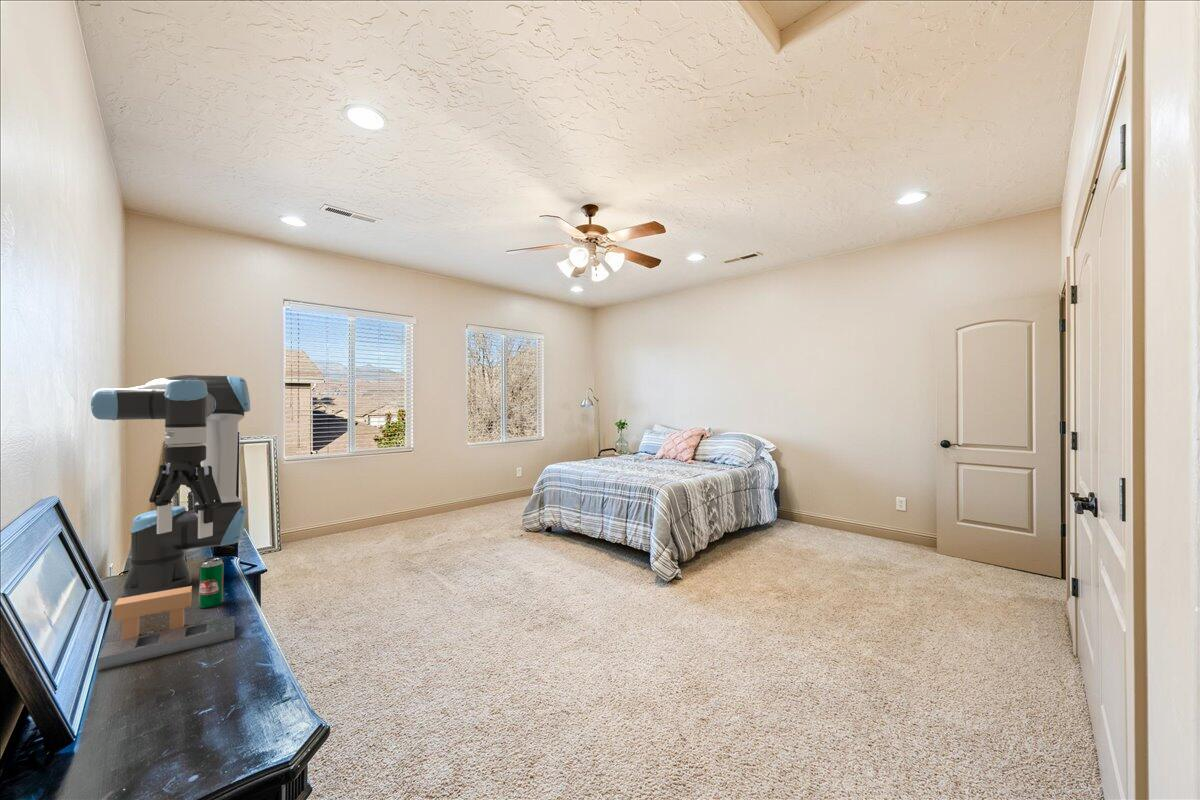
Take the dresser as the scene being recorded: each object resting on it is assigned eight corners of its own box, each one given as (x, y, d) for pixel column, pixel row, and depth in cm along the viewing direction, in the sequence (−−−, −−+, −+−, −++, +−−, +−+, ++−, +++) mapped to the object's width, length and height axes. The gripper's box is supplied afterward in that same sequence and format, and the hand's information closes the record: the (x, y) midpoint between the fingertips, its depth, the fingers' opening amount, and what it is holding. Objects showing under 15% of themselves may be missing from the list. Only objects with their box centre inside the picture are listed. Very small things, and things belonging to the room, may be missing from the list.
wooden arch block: (117, 637, 110) (118, 598, 110) (191, 622, 118) (191, 585, 118) (113, 646, 106) (114, 605, 106) (189, 629, 114) (190, 591, 114)
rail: (105, 654, 102) (106, 643, 102) (234, 626, 115) (234, 615, 116) (97, 670, 96) (97, 658, 96) (234, 638, 109) (234, 627, 109)
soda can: (195, 610, 125) (195, 564, 125) (204, 602, 130) (204, 558, 130) (218, 607, 127) (218, 562, 127) (226, 600, 131) (226, 557, 132)
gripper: (130, 444, 112) (129, 534, 112) (206, 447, 105) (205, 543, 105) (167, 442, 119) (165, 526, 119) (241, 445, 112) (239, 534, 112)
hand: (184, 534), depth 112 cm, fingers open, 13 cm apart
